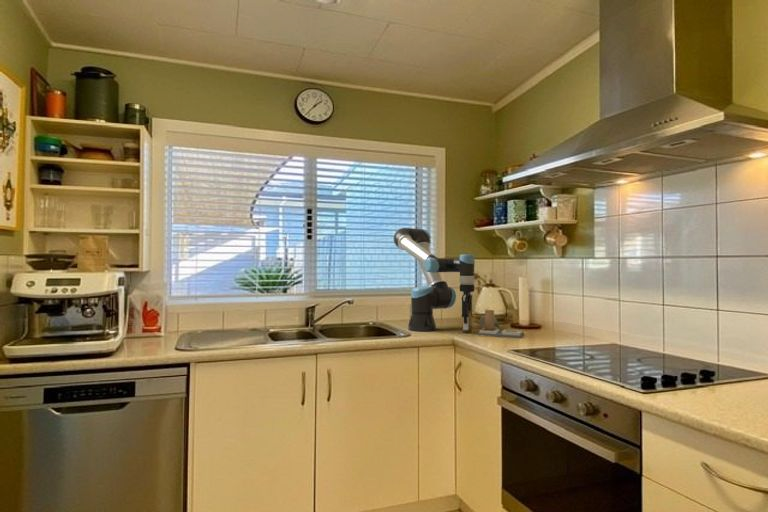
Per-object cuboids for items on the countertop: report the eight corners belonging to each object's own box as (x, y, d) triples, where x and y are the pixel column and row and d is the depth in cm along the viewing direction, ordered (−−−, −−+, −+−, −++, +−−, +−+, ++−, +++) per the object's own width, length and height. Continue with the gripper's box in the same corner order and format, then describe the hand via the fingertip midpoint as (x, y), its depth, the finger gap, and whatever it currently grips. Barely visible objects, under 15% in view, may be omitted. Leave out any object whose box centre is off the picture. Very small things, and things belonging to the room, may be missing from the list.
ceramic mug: (477, 328, 241) (478, 314, 241) (484, 327, 247) (484, 313, 247) (496, 331, 234) (496, 316, 234) (502, 329, 241) (502, 315, 241)
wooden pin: (461, 332, 227) (461, 311, 227) (463, 331, 231) (463, 310, 231) (470, 333, 225) (470, 311, 225) (472, 331, 229) (472, 310, 229)
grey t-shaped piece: (477, 335, 220) (477, 311, 220) (482, 331, 230) (482, 308, 231) (520, 338, 211) (520, 313, 211) (523, 334, 222) (523, 310, 222)
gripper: (470, 285, 219) (470, 332, 218) (477, 283, 234) (477, 327, 234) (455, 284, 222) (455, 331, 221) (463, 283, 237) (463, 326, 237)
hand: (467, 328), depth 228 cm, fingers closed on wooden pin, 4 cm apart
